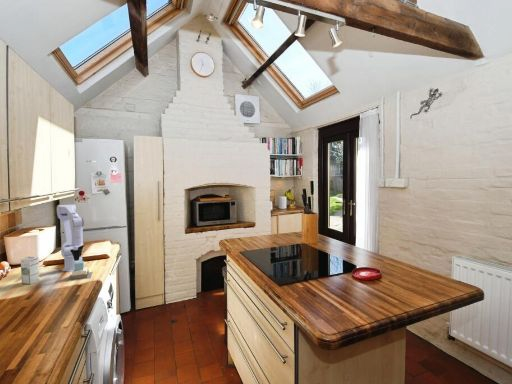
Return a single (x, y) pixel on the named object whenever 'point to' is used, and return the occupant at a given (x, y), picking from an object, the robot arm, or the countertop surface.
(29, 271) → the syrup box
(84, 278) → the slate mat
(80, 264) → the teal cube
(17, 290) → the countertop surface
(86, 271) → the cream slab
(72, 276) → the walnut slab
